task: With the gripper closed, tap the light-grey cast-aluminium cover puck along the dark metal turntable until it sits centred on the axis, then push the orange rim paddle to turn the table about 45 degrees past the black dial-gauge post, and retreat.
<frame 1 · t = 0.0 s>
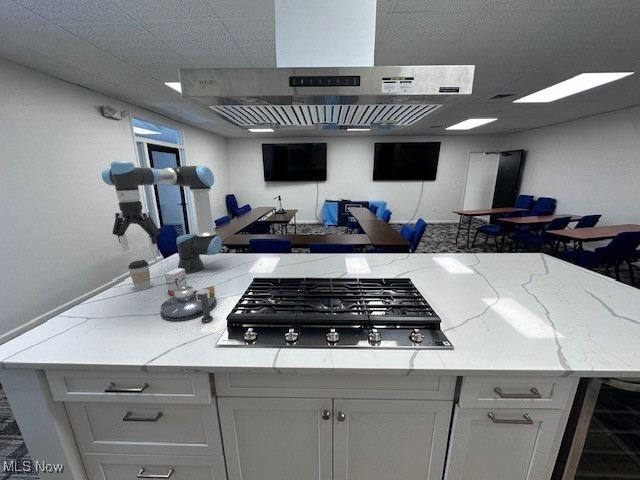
hand: (140, 250, 107), 28 cm above the worktop, fingers open, 13 cm apart
turntable: (188, 299, 114), point 4 cm above the worktop, hinge at 0.0°, touching cover
dial post: (207, 320, 105), on the worktop
coffee cup: (143, 287, 137), on the worktop
cover: (185, 297, 118), point 3 cm above the worktop, touching turntable
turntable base: (190, 307, 115), on the worktop
ink box: (178, 292, 131), on the worktop
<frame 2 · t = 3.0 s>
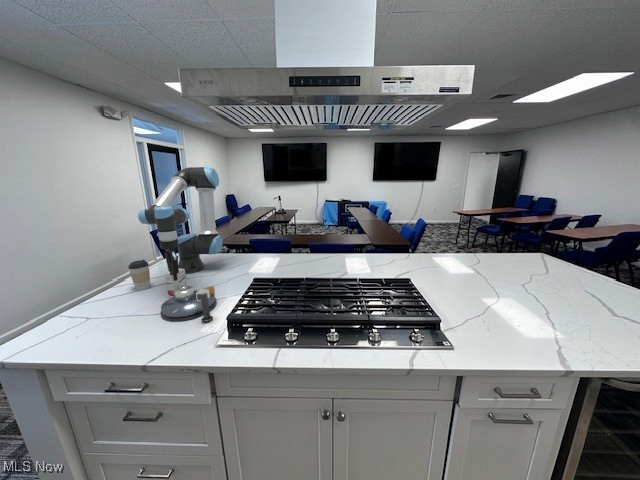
hand: (175, 286, 124), 6 cm above the worktop, fingers closed
ink box: (178, 292, 131), on the worktop, touching gripper
everything else where it was.
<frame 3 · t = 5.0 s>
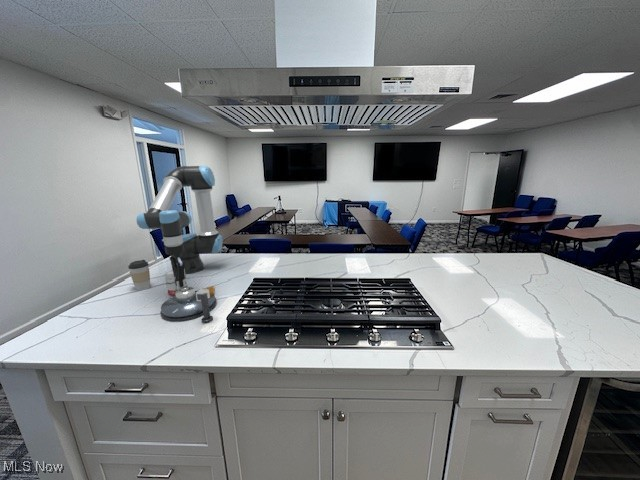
hand: (181, 292, 119), 5 cm above the worktop, fingers closed
turntable: (188, 299, 114), point 4 cm above the worktop, hinge at 0.0°
cover: (186, 298, 116), point 3 cm above the worktop
ink box: (178, 292, 131), on the worktop
everything else where it was.
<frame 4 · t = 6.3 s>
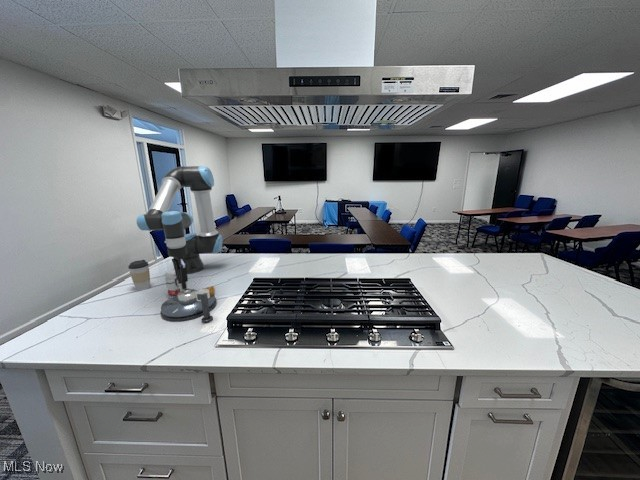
hand: (184, 294, 117), 5 cm above the worktop, fingers closed
turntable: (188, 299, 114), point 4 cm above the worktop, hinge at 0.0°, touching cover
cover: (188, 300, 114), point 3 cm above the worktop, touching gripper, turntable
everything else where it was.
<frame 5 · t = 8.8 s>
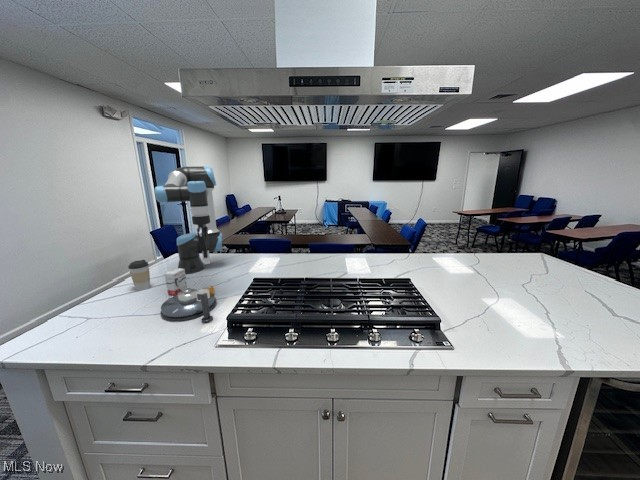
hand: (207, 263, 121), 18 cm above the worktop, fingers closed
cover: (188, 300, 114), point 3 cm above the worktop, touching turntable
everything else where it was.
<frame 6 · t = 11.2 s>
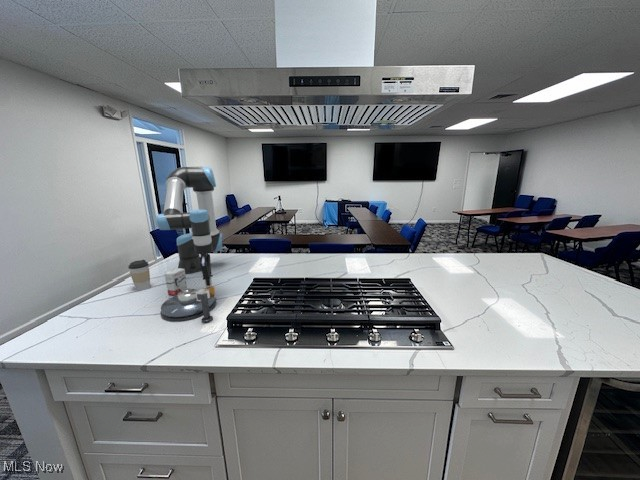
hand: (209, 290, 120), 5 cm above the worktop, fingers closed
turntable: (188, 299, 114), point 4 cm above the worktop, hinge at 2.7°, touching cover, gripper
everything else where it was.
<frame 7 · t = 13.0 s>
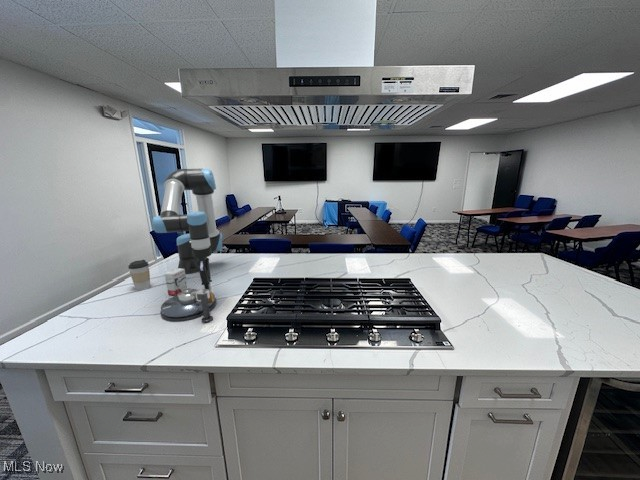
hand: (208, 296, 115), 5 cm above the worktop, fingers closed
turntable: (188, 299, 114), point 4 cm above the worktop, hinge at 40.5°, touching cover, gripper
everything else where it was.
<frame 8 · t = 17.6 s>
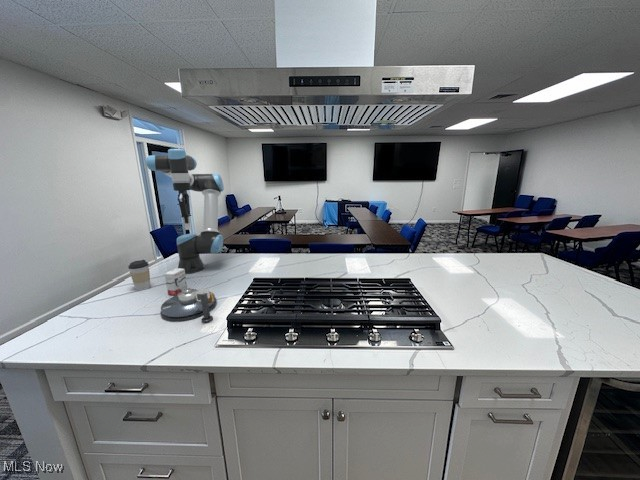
hand: (188, 229, 128), 32 cm above the worktop, fingers closed
turntable: (188, 299, 114), point 4 cm above the worktop, hinge at 40.6°, touching cover
everything else where it was.
at the end: cover 0.3 cm from the turntable (horizontally); turntable at +41° (first picture: +0°); cover point 3.3 cm above the worktop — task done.
